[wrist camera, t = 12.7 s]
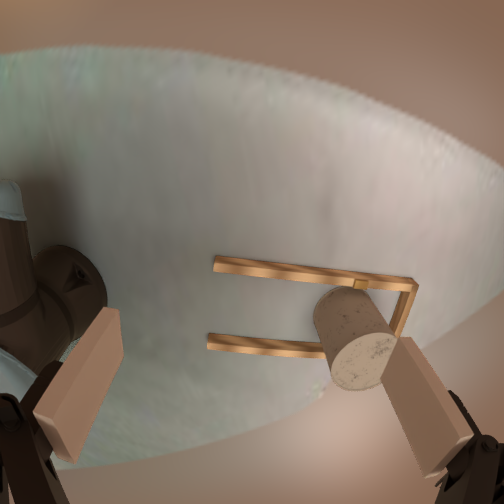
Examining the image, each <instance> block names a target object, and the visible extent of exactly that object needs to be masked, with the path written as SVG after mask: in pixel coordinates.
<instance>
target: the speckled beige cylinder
mask: <svg viewBox="0 0 504 504" xmlns="http://www.w3.org/2000/svg"><path fill="white" fill-rule="evenodd" d="M313 319H314V324H315V327H316V329H317V332H318V335H319V338H320V341H321V344H322V347H323V350H324V353H325V356H326V359H327V362H328V365H329V368H330V372H331V377H332V379H333V382H334V383H335V384H336V385H337V386H338V387H340V388H342V389H344V390H348V391H364V390H367V389H371V388H373V387H375V386H378V385H380V384H381V383H382V382H381V380H380V377H381V375H382V373H383V371H384V369H385V367H386V365H387V362H388V360H389V358H390V356H391V353H392V351H393V349H394V347H395V344H396V342H397V340H398V338H397V337H396V336H395V334H394V333H393V331H392V330H391V328H390V327H389V325H388V324H387V322H386V321H385V319H384V318H383V316H382V315H381V313H380V312H379V311H378V309H377V308H376V306H375V305H374V303H373V302H372V300H371V298H370V297H369V295H368V294H367V293H366V292H365V291H364V290H363V289H354V288H353V287H352V286H342V287H337V288H335V289H333V290H331V291H329V292H328V293H326V294H325V295H324V296H323V297H322V298H321V299H320V300H319V302H318V303H317V305H316V308H315V310H314V315H313Z"/></svg>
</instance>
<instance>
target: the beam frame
mask: <svg viewBox="0 0 504 504" xmlns="http://www.w3.org/2000/svg"><path fill="white" fill-rule="evenodd" d="M214 271H215V272H223V273H232V274H240V275H249V276H257V277H266V278H275V279H284V280H293V281H303V282H312V283H322V284H332V285H342V286H352V287H353V288H354V289H364V290H367V288H373V289H384V290H395V291H401V294H400V297H399V300H398V303H397V306H396V308H395V311H394V314H393V317H392V319H391V322H390V325H389V327H390V328H391V330H392V331H393V333H394V334H395V336H396V337H397V338H398V337H400V335H401V332H402V330H403V327H404V325H405V322H406V320H407V317H408V315H409V312H410V309H411V307H412V304H413V301H414V298H415V296H416V293H417V290H418V287H419V285H418V284H417V283H416V282H415V281H414V280H413V279H412V278H405V277H396V276H387V275H378V274H369V273H360V272H351V271H342V270H333V269H325V268H316V267H307V266H299V265H290V264H281V263H273V262H264V261H256V260H247V259H239V258H231V257H222V256H216V258H215V262H214ZM207 349H212V350H221V351H229V352H239V353H249V354H260V355H272V356H286V357H302V358H323V359H326V356H325V353H324V350H323V347H322V344H321V343H311V342H296V341H282V340H270V339H259V338H249V337H239V336H230V335H221V334H213V333H209V337H208V343H207Z"/></svg>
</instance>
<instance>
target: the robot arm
mask: <svg viewBox="0 0 504 504" xmlns="http://www.w3.org/2000/svg"><path fill="white" fill-rule="evenodd" d="M26 221H27V217H26V216H25V213H24V208H23V202H22V194H21V190H20V188H19V186H18V184H17V183H16V182H14V181H12V180H9V179H0V504H9V492H8V483H9V486H10V490H11V493H12V496H13V499H14V502H15V504H70V503H69V501H68V499H67V497H66V495H65V492H64V490H63V488H62V485H61V483H60V481H59V478H58V476H57V473H56V471H55V468H54V466H53V463H52V460H51V459H50V455H51V453H52V451H54V452H55V454H56V456H57V457H58V458H60V459H62V460H65V461H67V462H70V463H73V464H76V462H77V460H78V457H79V455H80V452H81V450H82V447H83V445H84V443H85V440H86V438H87V436H88V433H89V431H90V429H91V426H92V424H93V422H94V420H95V417H96V415H97V413H98V411H99V408H100V406H101V404H102V402H103V400H104V397H105V395H106V393H107V391H108V389H109V387H110V385H111V382H112V380H113V378H114V376H115V374H116V372H117V370H118V368H119V366H120V364H121V362H122V359H123V357H124V354H123V345H122V337H121V327H120V317H119V310H118V309H113V308H107V294H106V289H105V286H104V283H103V280H102V278H101V276H100V274H99V273H98V271H97V270H96V268H95V267H94V266H93V264H92V263H91V262H90V261H89V260H88V259H87V258H86V257H85V256H83V255H82V254H81V253H79V252H78V251H76V250H74V249H72V248H69V247H66V246H51V247H48V248H46V249H44V250H43V251H41V252H40V253H38V254H37V255H36V256H35V257H34V258H33V259H32V257H31V252H30V246H29V240H28V233H27V226H26ZM82 335H83V336H82ZM81 336H82V337H81ZM80 337H81V339H80V340H79V342H78V343H77V344H76V346H75V347H74V349H73V350H72V352H71V353H70V355H69V356H68V358H67V359H66V360H65V362H64V363H63V362H59V359H60V358H61V356H62V355H63V353H64V352H65V350H66V349H67V347H68V346H69V345H70V343H71V342H72V341H74V340H76V339H78V338H80ZM380 380H381V382H382V384H383V386H384V388H385V390H386V393H387V394H388V397H389V399H390V401H391V403H392V405H393V408H394V409H395V412H396V414H397V416H398V419H399V421H400V423H401V425H402V427H403V430H404V432H405V434H406V437H407V439H408V441H409V444H410V446H411V448H412V451H413V453H414V455H415V458H416V460H417V462H418V465H419V467H420V470H421V472H422V475H423V477H424V478H428V477H432V476H435V475H438V474H439V473H440V472H441V471H442V470H443V469H444V468H445V467H446V468H447V470H448V472H447V474H445V475H444V476H443V477H442V478H441V479H440V480H439V481H438V482H437V483H436V485H435V487H437V486H438V485H439V484H440V483H441V482H442V485H441V487H440V490H439V493H438V496H437V499H436V501H435V504H504V443H498V441H497V440H496V439H495V438H494V437H492V436H490V435H482V434H481V432H480V431H479V429H478V427H477V426H476V424H475V422H474V421H473V419H472V418H471V416H470V414H469V413H467V410H466V408H465V407H463V403H462V402H461V400H460V399H459V397H458V396H457V395H455V394H454V393H453V392H452V391H451V390H449V391H447V389H446V388H445V386H444V385H443V383H442V382H441V380H440V379H439V377H438V376H437V374H436V373H435V371H434V370H433V368H432V367H431V365H430V364H429V363H428V361H427V359H426V358H425V356H424V355H423V353H422V352H421V351H420V349H419V348H418V346H417V345H416V343H415V342H414V341H413V339H412V338H411V337H398V340H397V342H396V344H395V347H394V349H393V351H392V353H391V356H390V358H389V360H388V362H387V365H386V367H385V369H384V371H383V373H382V375H381V377H380Z"/></svg>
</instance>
